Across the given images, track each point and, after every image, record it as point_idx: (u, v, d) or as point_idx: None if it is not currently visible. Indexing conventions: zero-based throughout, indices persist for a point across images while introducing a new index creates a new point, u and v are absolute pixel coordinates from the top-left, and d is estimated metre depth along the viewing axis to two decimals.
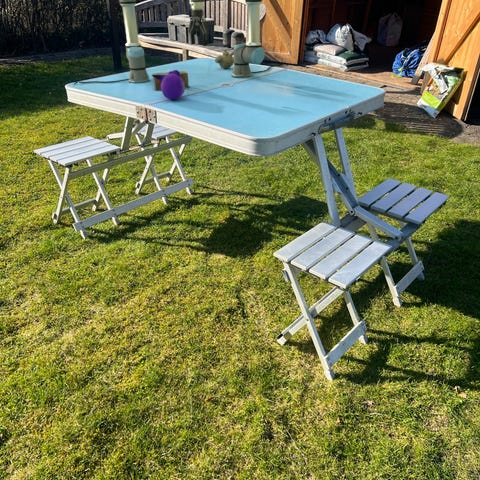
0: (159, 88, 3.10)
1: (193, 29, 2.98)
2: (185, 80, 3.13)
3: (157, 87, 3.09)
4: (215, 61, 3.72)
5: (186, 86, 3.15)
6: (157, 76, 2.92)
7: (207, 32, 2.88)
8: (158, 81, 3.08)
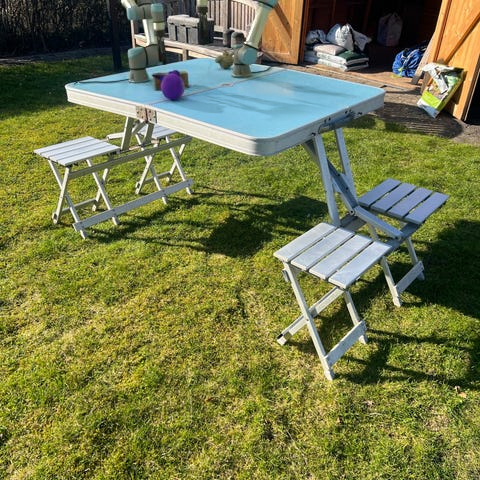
0: (159, 88, 3.10)
1: None
2: (185, 80, 3.13)
3: (157, 87, 3.09)
4: (215, 61, 3.72)
5: (186, 86, 3.15)
6: (157, 76, 2.92)
7: None
8: (158, 81, 3.08)
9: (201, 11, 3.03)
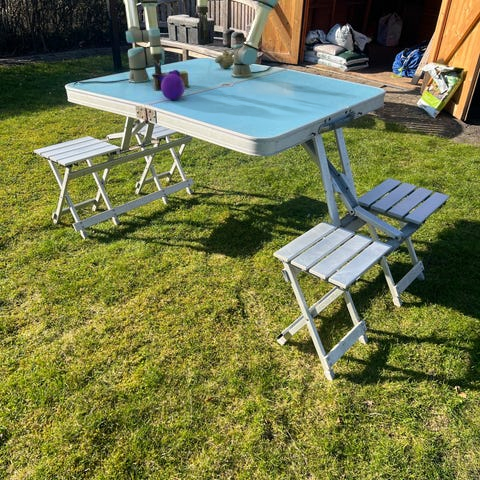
0: None
1: None
2: (184, 80, 3.13)
3: (157, 87, 3.09)
4: (215, 61, 3.72)
5: (186, 86, 3.15)
6: (157, 76, 2.92)
7: None
8: None
9: (201, 11, 3.03)
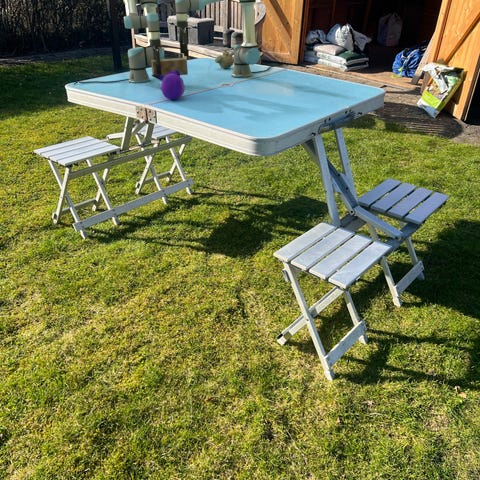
0: None
1: None
2: (183, 67, 3.08)
3: (156, 74, 3.05)
4: (215, 61, 3.72)
5: (185, 73, 3.10)
6: (157, 76, 2.92)
7: None
8: None
9: (180, 26, 2.97)
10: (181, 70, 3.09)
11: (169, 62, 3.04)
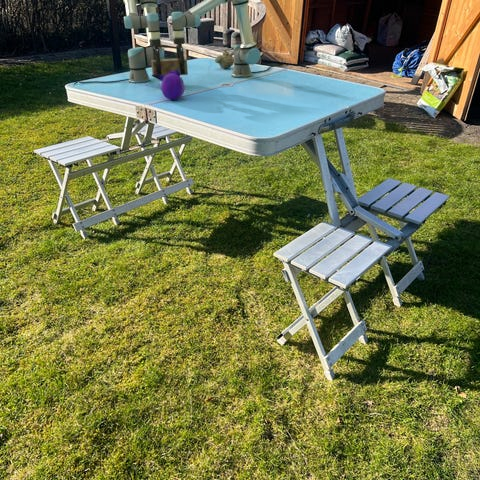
0: None
1: None
2: None
3: (156, 74, 3.05)
4: (215, 61, 3.72)
5: (185, 73, 3.10)
6: (157, 76, 2.92)
7: None
8: None
9: (177, 42, 3.00)
10: None
11: (169, 62, 3.04)
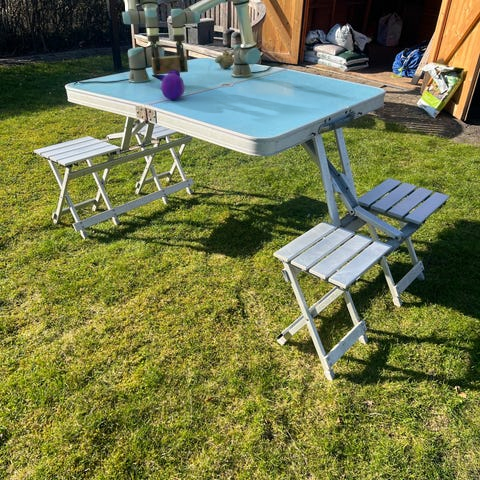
0: (158, 72, 3.05)
1: None
2: None
3: (156, 72, 3.04)
4: (215, 61, 3.72)
5: (185, 70, 3.10)
6: (157, 76, 2.92)
7: None
8: None
9: (177, 40, 2.99)
10: None
11: (169, 59, 3.03)
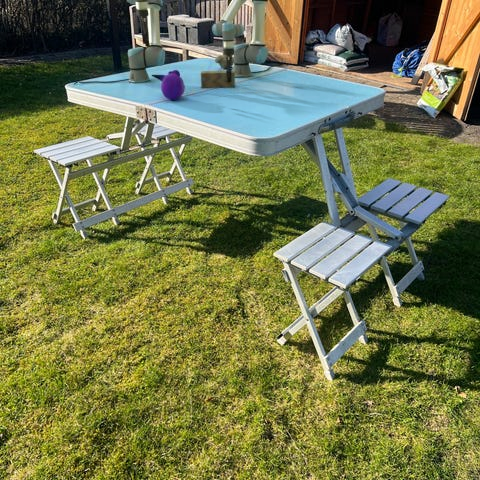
0: (205, 86, 3.13)
1: None
2: (231, 80, 3.11)
3: (203, 85, 3.13)
4: (215, 61, 3.72)
5: (232, 86, 3.13)
6: (157, 76, 2.92)
7: None
8: (204, 79, 3.11)
9: (226, 53, 3.03)
10: (228, 83, 3.12)
11: (217, 74, 3.09)
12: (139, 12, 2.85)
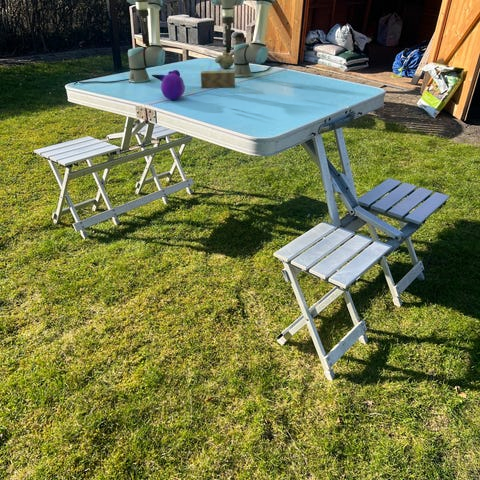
0: (205, 86, 3.13)
1: None
2: (231, 80, 3.11)
3: (203, 85, 3.13)
4: (215, 61, 3.72)
5: (232, 86, 3.13)
6: (157, 76, 2.92)
7: None
8: (204, 79, 3.11)
9: (225, 22, 2.93)
10: (228, 83, 3.12)
11: (217, 74, 3.09)
12: (139, 12, 2.85)
